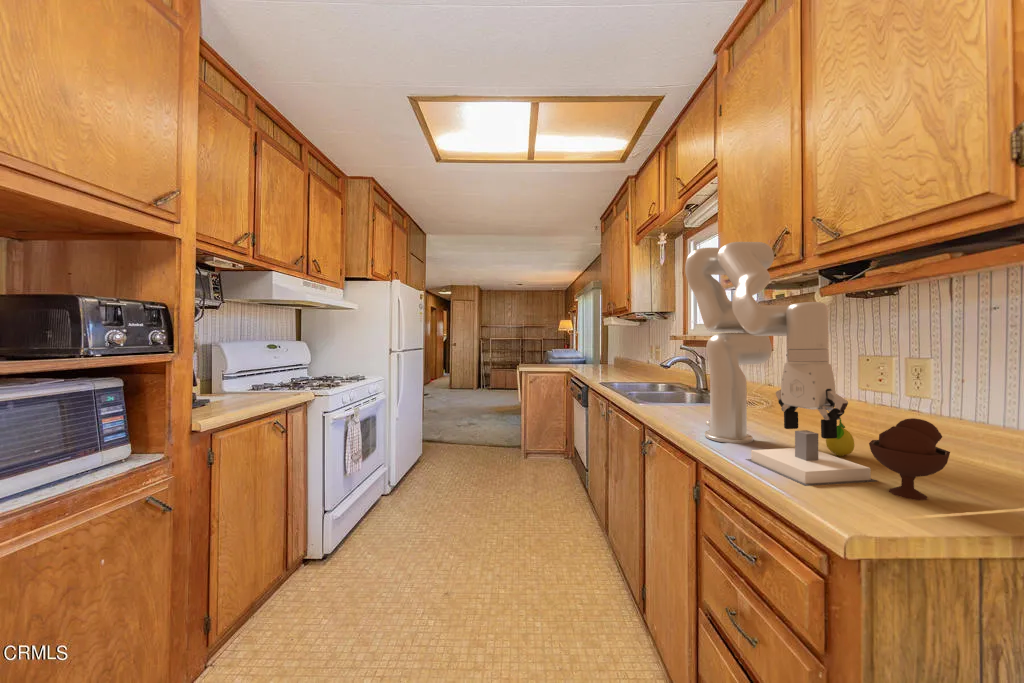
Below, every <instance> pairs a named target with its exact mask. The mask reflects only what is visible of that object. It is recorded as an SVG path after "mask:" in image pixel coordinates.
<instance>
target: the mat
mask: <svg viewBox="0 0 1024 683" xmlns="http://www.w3.org/2000/svg"><path fill="white" fill-rule="evenodd" d="M744 460H745V461H748V462H750V463H751V464H752V463H753V464H754V465H757V466H759V467H761V468H764V469H767V470H768V471H770V472H773V473H775V474H777V475H779V476H782V477H784V478H786V479H789V480H791V481H793V482H795V483H797V484H800V485H802V486H804V487H811V486H825V485H829V486H830V485H843V484H854V483H855V484H861V483H874V482H876V483H877V482H879V480H877V479H874V478H871V477H870V480H859V481H843V482H826V483H810V484H805V483H802V482H800V481H798V480H795V479H793V478H791V477H789V476H786V475H784V474H782V473H779V472H777V471H775V470H773V469H770V468H768V467H766V466H763V465H761V464H759V463H756V462H754V461H752V460H751V458H748V459H747V458H746V459H744Z"/></svg>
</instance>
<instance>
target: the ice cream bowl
mask: <svg viewBox="0 0 1024 683" xmlns="http://www.w3.org/2000/svg"><path fill="white" fill-rule="evenodd" d="M942 438H943V435H942V433H941V432H940V430H939V429H938V427H936V426H935V425H934V424H933V423H931V422H929V421H928V420H924V419H921V418H920V419H919V418H914V417H912V418H905V419H903V420H901V421H900V420H899V422H898V423H896V424H895V426H894V425H893V426H890V428H888V429H886V430H884V431H882V432H881V433H879V434H878V439H872V440H871V441H870V442H869V443H868V445H869V449H870V450H869V451H870V452H871V454H872V455H873V457H874V458H875V459H876V460H877V461H878V462H879V463H880V464H881V465H882V466H884V467H886V468H887V469H889V470H891V471H893V472H894V473H897V474H899V476H900V478H901V484H900V485H899V486H895V487H891V488H889V490H888V492H889V493H890V494H892V495H894V496H897V497H901V498H904V499H908V500H914V501H927V500H928V496H927V495H926V494H924V493H923V492H921V491H919V490H917V489H916V488H915V479H916V478H918V477H927V476H931V475H934V474H937V473H938V472H940V471H941V470H943V469H944V468H945V467H946V465H947V464H948V461H949V459H950V454H951V451H950V450H949V451H948V450H946V449H943V448H940V447H938V446H937V444H938V443H939V442H940V441H941V440H942Z"/></svg>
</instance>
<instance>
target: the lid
mask: <svg viewBox="0 0 1024 683" xmlns="http://www.w3.org/2000/svg"><path fill="white" fill-rule="evenodd" d="M750 455H751V458H750V459H751V460H752V461H754V462H756V463H759V464H761V465H763V466H766V467H768V468H770V469H773V470H775V471H777V472H779V473H782V474H784V475H786V476H789V477H791V478H793V479H795V480H798V481H800V482H802V483H805V484H810V483H826V482H843V481H859V480H870V478H871V467H869V466H867V465H866V466H865V465H862V464H859V463H857V462H853V461H851V460H847V459H844V458H841V457H839V456H838V457H837V456H834V455H832V454H829V453H826V452H822V451H819V433H818V432H814V431H811V430H806V429H805V430H794V447H788V448H785V447H784V448H770V449H769V448H768V449H766V448H765V449H751V452H750Z"/></svg>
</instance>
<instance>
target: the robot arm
mask: <svg viewBox="0 0 1024 683" xmlns="http://www.w3.org/2000/svg"><path fill="white" fill-rule="evenodd" d="M774 260H775V252H774V250H773V247H771V246H770V244H767V243H765V242H762V241H734V242H729V243H726V244H725V245H723V246H721V247H702V248H698V249H695V250H693V251H691V252H690V253H689V254H688V255H687V257H686V261H685V267H684V268H685V269H684V271H685V277H686V280H687V283H688V285H689V287H690V289H691V291H692V292H693V294H694V296H695V300H696V303H697V306H698V309H699V313H700V316H701V318H702V319H701V320H702V322H703V325H704V327H705V328H706V330H708V331H709V332H712V333H717V334H713V335H712V336H711V337H710V338H709V339H708V341H707V342H706V345H705V346H706V347H705V349H706V356H707V359H708V360H707V361H708V367H709V383H710V384H709V385H710V386H709V390H710V391H709V393H710V395H709V402H710V403H709V404H710V406H709V407H710V409H709V413H710V419H709V420H706V422H705V424H706V426H708V427H709V428H708V430H706V431H705V432H704V437H705V438H707V439H709V440H712V441H715V442H720V443H725V444H728V443H729V444H748V443H752V442H754V441H753V440H754V439H753V438H754V437H753V435H750V434H749V433H747V432H748V431H747V430H748V429H747V428H748V427H747V426H748V425H747V424H748V423H747V421H748V420H747V418H748V417H747V414H748V413H747V409H748V408H747V407H748V406H747V404H748V403H747V402H748V401H747V400H748V398H747V397H748V395H747V393H748V392H747V387H748V386H747V379H746V375H745V374H744V371H743V370H742V368H741V367H740V366H741V365H742V366H743V365H746V366H747V365H760V364H761V365H762V364H764V363H766V362H768V361H769V360H770V358H771V357H772V352H773V349H772V348H773V346H772V342H771V339H770V337H773V336H774V337H775V336H776V337H786V354H785V356H786V362H785V363H784V365H783V370H782V376H781V389H778V390H776V391H775V395H776V397H777V400H778V404H779V406H780V407H781V412H783V422H784V423H783V428H784V429H785V430H797V429H799V411H797V409H798V408H800V409H801V408H802V409H806V410H817V412H819V413H820V415H821V417H822V419H820V431H821V432H820V436H821V438H822V439H825V440H826V439H831V438H837V426H838V420H839V421H840V418H841V417H842V415H844V414H845V410H846V409H847V407H848V405H849V402H848V400H847V399H846V398H843V397H842V396H841V395H839V394H838V393H837V390H836V383H835V377H834V372H833V371H834V370H833V368H832V364H831V363H830V351H829V350H830V349H829V346H830V344H829V316H828V315H829V310H828V309H829V308H828V306H827V305H826V304H825V303H824V302H819V301H806V302H796V303H792V304H790V305H789V304H788V305H786V304H785V305H780V304H779V305H778V304H777V305H775V304H771V305H769V304H767V305H764V304H763V305H761V304H759V303H758V302H757V301H756V300H755V298H754V295H758V293H760V292H762V291H764V289H766V287H767V286H768V285H769V283H770V281H771V274H770V272H769V271H768V269H769V268H771V266H772V265H773V263H774ZM712 275H713V276H712ZM714 275H717V276H719V275H720V276H721V275H724V276H725V275H726V277H727V278H728V279H729V281H730V282H731V284H732V286H733V287H734V288H735V290H734V292H733V295H732V301H731V300H730V299H729V297H728V295H727V293H726V289H725V288H724V286H723V285H722V284H721V282H719V280H717V279H716V278H714Z"/></svg>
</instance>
